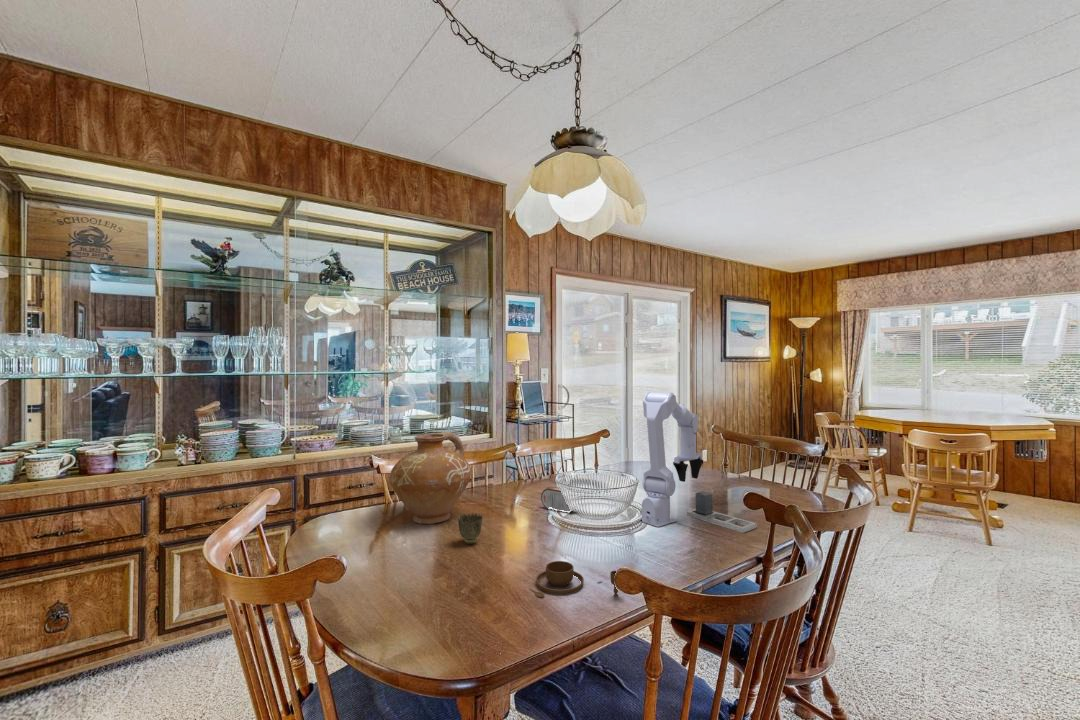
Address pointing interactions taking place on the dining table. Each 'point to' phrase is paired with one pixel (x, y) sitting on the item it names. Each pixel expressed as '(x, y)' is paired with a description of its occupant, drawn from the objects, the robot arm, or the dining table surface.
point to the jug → (431, 477)
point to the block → (704, 503)
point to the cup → (470, 527)
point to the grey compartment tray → (727, 524)
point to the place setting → (563, 578)
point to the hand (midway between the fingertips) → (688, 479)
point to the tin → (554, 499)
